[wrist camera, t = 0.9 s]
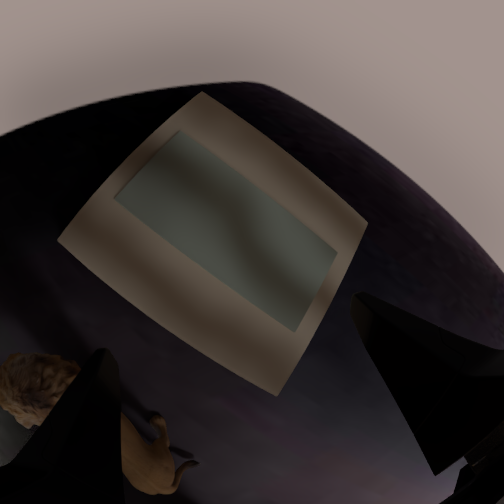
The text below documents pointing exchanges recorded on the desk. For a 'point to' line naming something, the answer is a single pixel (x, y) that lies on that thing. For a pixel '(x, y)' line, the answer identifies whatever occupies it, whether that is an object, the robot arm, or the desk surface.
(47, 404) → the lion figurine
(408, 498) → the desk surface
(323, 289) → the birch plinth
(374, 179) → the desk surface
